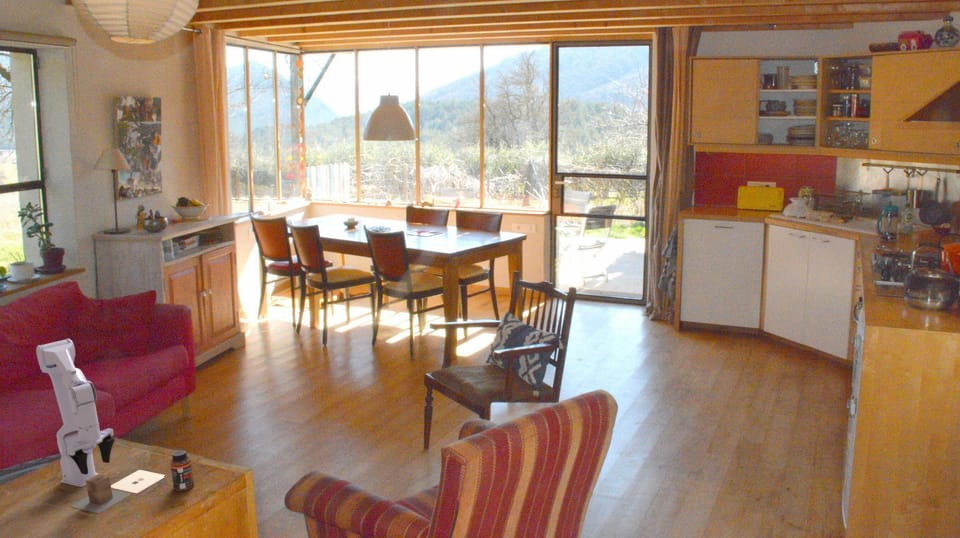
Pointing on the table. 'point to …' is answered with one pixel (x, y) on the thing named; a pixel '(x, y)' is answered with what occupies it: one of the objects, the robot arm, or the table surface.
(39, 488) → the table surface
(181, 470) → the supplement bottle
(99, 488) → the walnut block
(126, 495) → the grey mat
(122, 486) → the cream mat
